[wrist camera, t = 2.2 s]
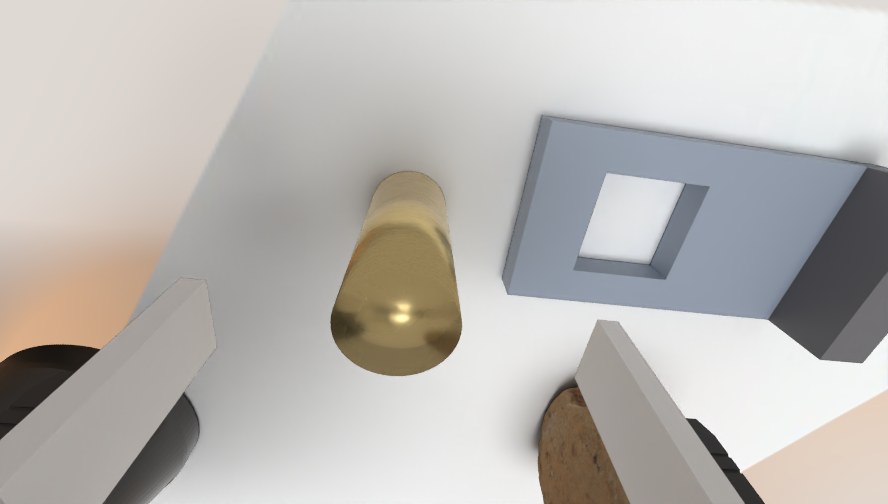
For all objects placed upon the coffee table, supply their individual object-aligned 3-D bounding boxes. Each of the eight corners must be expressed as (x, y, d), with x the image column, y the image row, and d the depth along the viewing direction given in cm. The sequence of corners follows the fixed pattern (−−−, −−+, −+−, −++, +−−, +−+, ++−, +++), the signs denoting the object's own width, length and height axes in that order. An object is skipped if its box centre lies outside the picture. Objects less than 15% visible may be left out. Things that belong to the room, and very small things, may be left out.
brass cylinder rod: (370, 235, 25) (330, 371, 14) (374, 166, 23) (331, 264, 12) (440, 243, 25) (451, 379, 15) (450, 176, 23) (471, 279, 13)
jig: (502, 278, 27) (521, 334, 22) (542, 115, 22) (580, 135, 17) (782, 306, 29) (862, 363, 24) (876, 165, 24) (1003, 196, 19)
